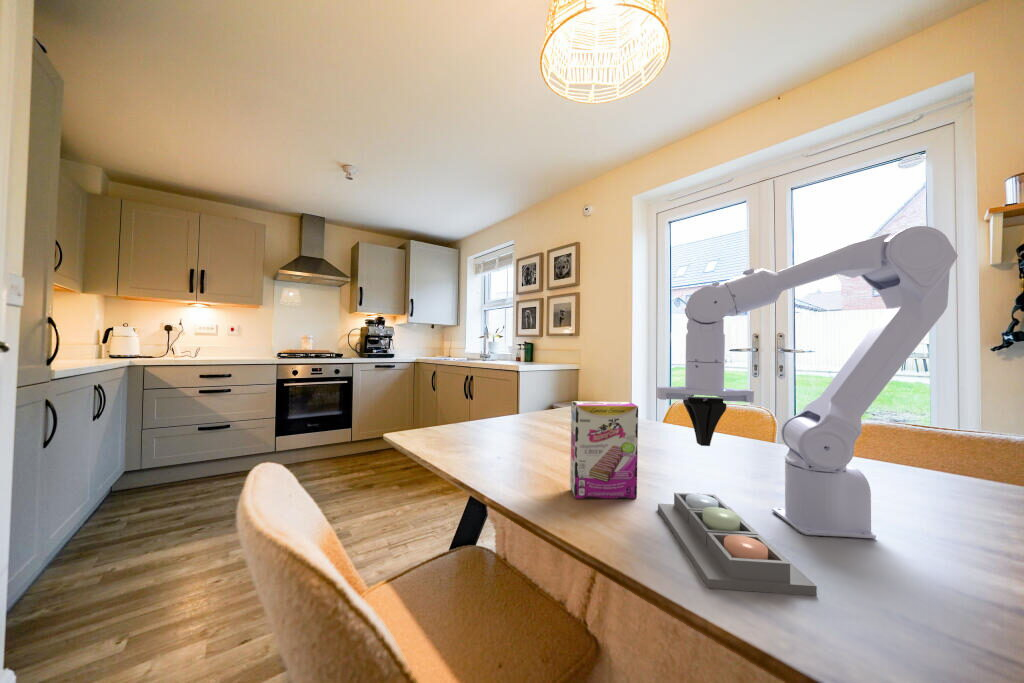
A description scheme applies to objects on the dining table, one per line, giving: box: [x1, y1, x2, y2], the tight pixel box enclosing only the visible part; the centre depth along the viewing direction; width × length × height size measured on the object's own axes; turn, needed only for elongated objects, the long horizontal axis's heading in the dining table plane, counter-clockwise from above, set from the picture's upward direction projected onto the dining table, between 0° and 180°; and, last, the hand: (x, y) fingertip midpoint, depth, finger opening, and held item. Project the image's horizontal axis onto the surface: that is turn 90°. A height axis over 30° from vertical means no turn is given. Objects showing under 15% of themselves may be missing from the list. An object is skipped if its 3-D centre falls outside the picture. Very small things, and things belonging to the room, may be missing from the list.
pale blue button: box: [686, 493, 718, 509], centre depth 57 cm, size 4×4×2 cm
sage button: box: [703, 507, 741, 531], centre depth 51 cm, size 4×4×2 cm
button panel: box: [657, 492, 818, 596], centre depth 51 cm, size 11×20×3 cm, turn 174°
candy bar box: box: [569, 400, 639, 499], centre depth 68 cm, size 11×5×16 cm, turn 92°
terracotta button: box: [724, 535, 768, 560], centre depth 44 cm, size 4×4×2 cm
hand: (703, 444), depth 62 cm, fingers closed
